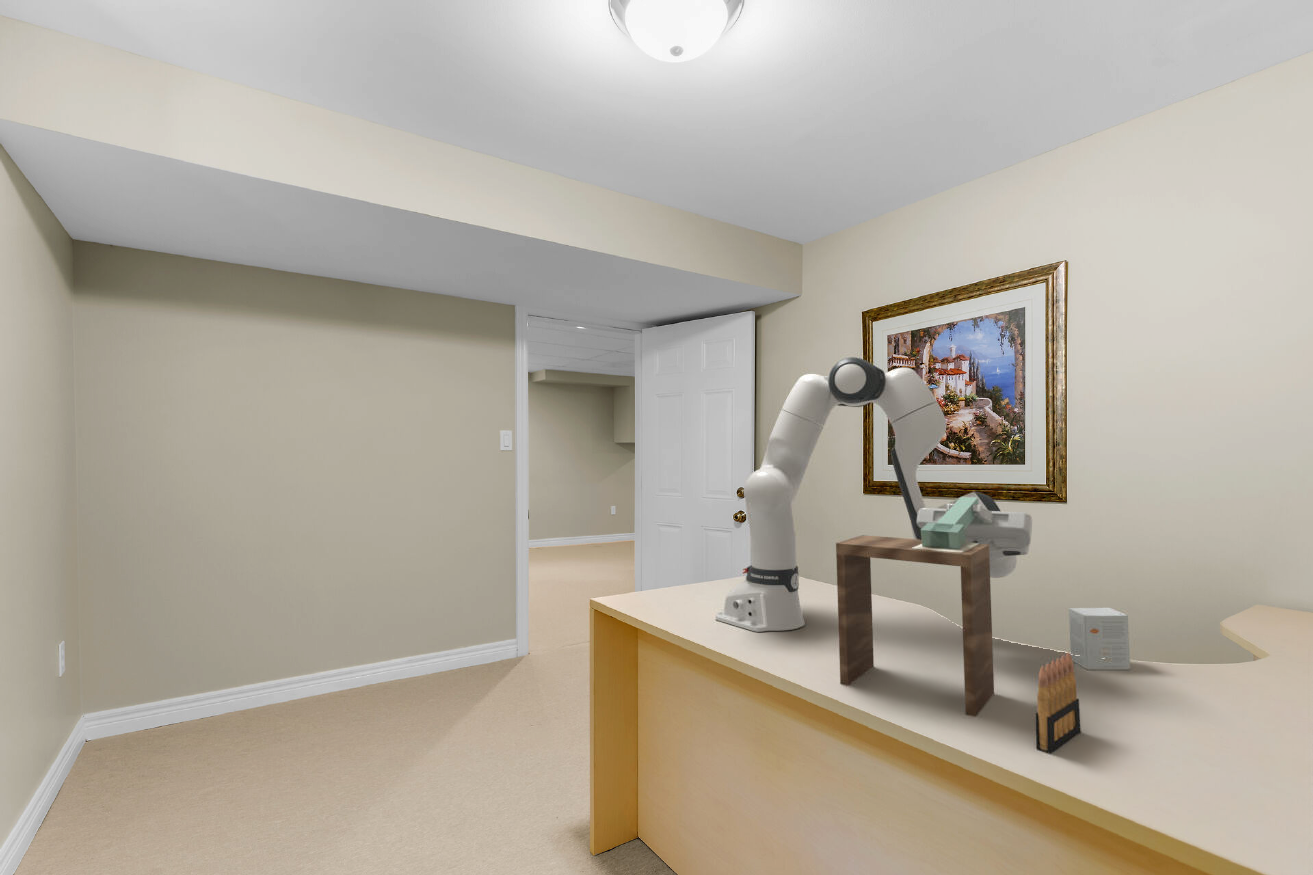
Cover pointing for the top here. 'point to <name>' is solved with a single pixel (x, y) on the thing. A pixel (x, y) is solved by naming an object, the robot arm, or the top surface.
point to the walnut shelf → (859, 607)
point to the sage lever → (950, 526)
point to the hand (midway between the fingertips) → (963, 507)
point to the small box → (1099, 638)
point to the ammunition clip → (1057, 705)
